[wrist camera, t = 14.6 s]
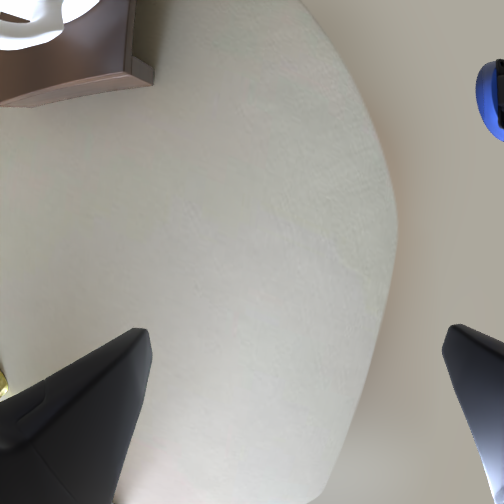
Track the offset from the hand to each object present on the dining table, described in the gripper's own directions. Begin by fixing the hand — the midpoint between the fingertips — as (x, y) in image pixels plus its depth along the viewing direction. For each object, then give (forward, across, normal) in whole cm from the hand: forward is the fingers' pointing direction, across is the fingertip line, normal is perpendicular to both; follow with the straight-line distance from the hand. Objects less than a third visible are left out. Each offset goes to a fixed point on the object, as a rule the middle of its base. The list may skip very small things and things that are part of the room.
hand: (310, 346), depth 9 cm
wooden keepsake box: (+13, +13, -14) cm, 23 cm away
